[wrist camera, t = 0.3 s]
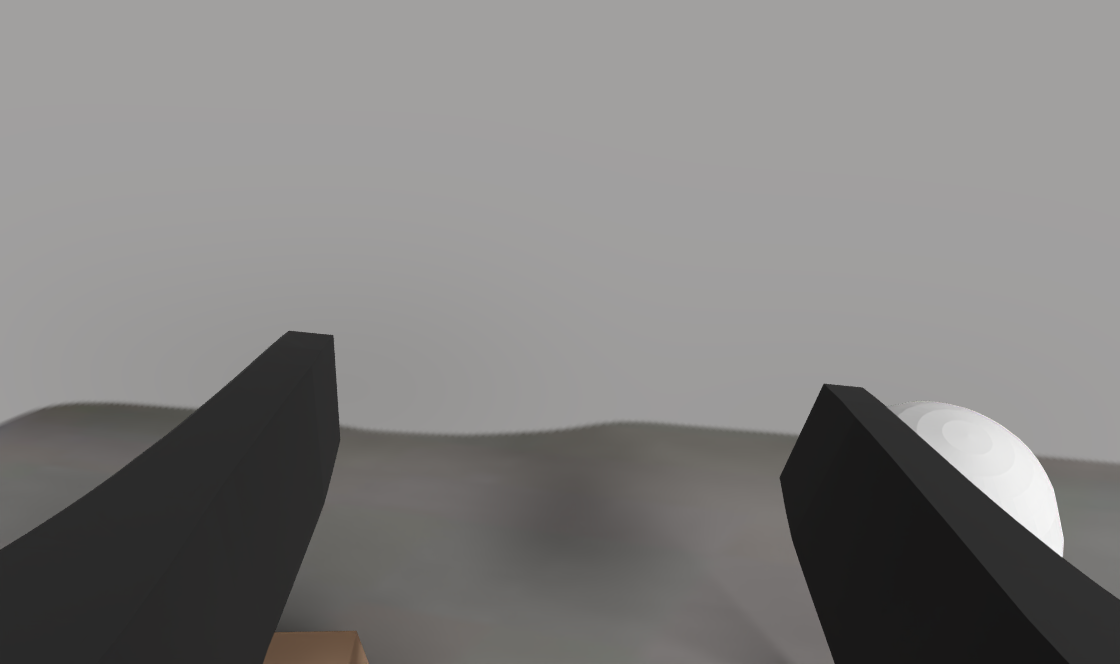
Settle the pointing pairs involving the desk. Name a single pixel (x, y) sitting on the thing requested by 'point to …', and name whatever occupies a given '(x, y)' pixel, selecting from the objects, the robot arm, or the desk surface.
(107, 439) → the desk surface
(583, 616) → the desk surface
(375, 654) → the desk surface
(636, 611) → the desk surface
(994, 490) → the lollipop
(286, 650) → the socket block
